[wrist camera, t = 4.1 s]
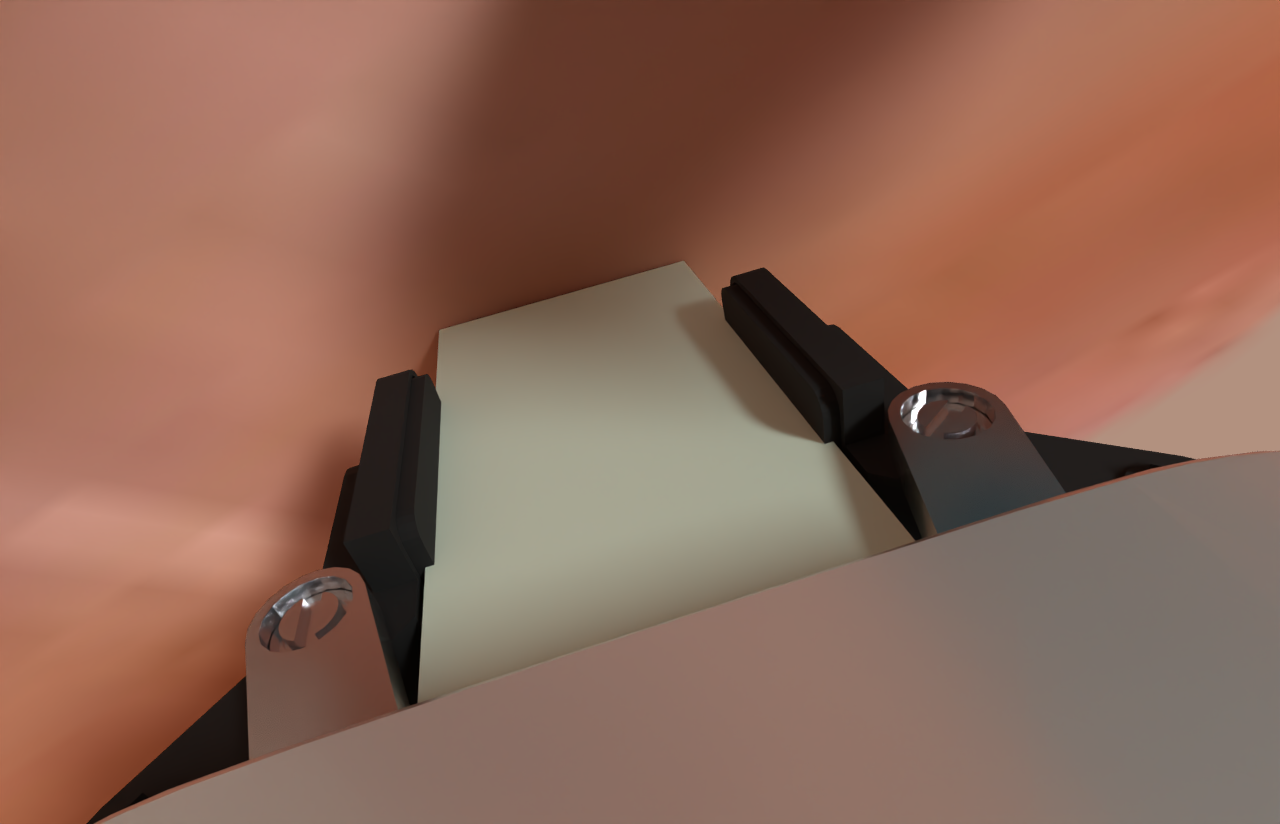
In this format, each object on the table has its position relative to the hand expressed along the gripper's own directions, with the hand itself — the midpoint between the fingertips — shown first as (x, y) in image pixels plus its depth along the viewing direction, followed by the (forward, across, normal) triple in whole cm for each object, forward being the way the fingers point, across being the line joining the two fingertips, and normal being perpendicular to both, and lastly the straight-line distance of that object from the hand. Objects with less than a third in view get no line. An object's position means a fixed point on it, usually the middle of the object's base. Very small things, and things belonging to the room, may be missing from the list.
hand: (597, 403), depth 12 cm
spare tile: (+3, 0, 0) cm, 3 cm away
